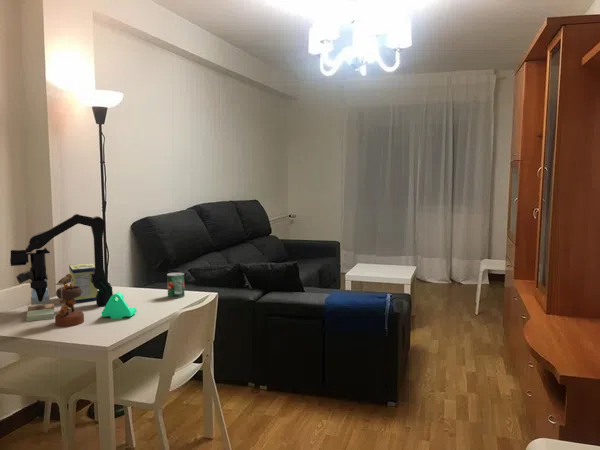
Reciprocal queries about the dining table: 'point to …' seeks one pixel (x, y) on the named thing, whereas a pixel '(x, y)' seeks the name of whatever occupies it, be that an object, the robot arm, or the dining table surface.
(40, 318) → the green stand
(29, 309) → the walnut stand
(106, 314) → the camera mount
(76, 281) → the protein box
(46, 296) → the housing
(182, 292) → the canned tomato
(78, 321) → the brown bird figurine
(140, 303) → the dining table surface
